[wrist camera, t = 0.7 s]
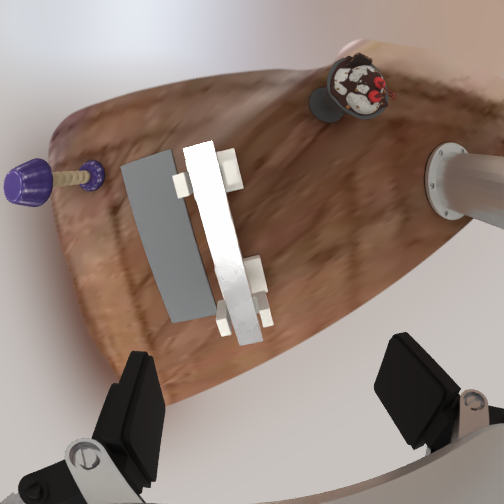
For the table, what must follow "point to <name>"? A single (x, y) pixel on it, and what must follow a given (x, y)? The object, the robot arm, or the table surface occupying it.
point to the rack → (251, 263)
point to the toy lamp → (48, 181)
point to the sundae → (351, 91)
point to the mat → (168, 237)
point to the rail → (223, 240)
